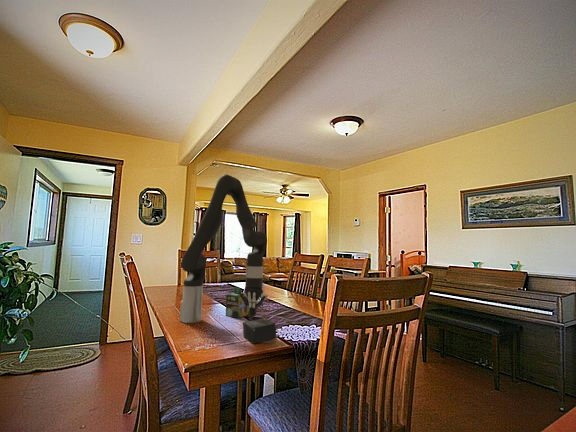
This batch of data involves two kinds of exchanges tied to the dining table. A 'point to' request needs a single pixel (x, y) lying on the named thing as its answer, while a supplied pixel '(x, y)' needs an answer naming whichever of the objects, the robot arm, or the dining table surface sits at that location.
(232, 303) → the chalk box
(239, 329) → the dining table surface
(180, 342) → the dining table surface
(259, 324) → the small box
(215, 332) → the dining table surface
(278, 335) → the felt mat
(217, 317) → the dining table surface
